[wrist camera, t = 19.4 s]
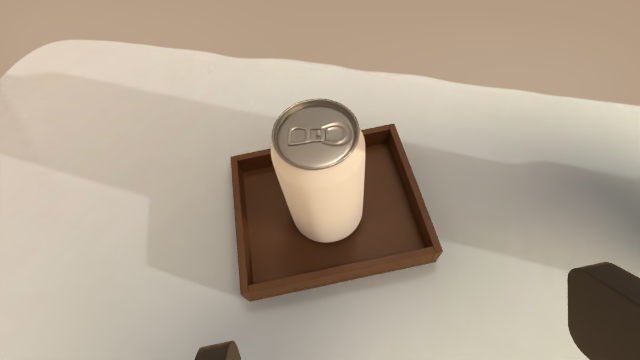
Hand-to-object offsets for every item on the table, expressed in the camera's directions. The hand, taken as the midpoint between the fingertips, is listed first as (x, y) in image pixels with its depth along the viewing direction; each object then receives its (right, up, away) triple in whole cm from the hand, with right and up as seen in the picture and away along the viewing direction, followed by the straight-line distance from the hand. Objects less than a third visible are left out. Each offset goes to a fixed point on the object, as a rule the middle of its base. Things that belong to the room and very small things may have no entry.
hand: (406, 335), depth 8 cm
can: (-1, +1, +25) cm, 25 cm away
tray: (-1, +1, +25) cm, 25 cm away
